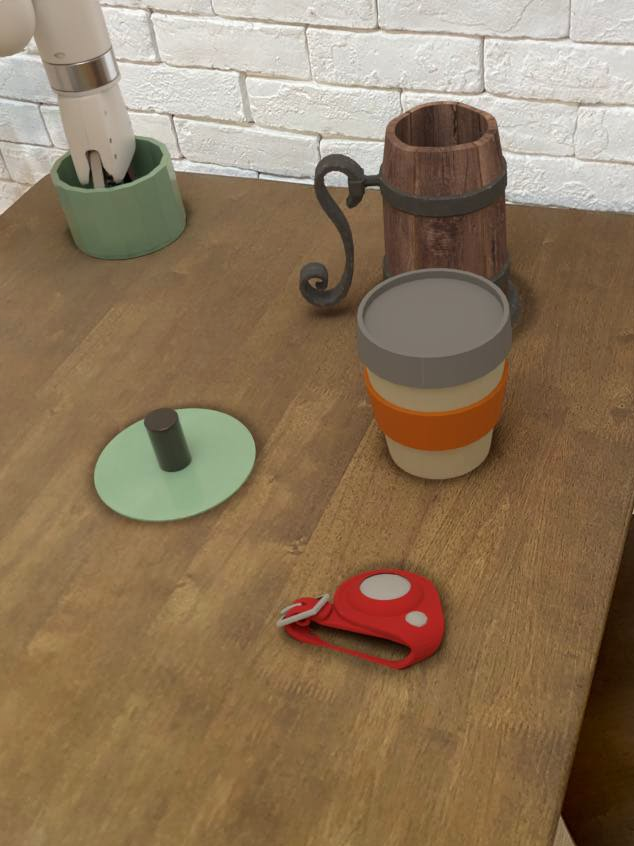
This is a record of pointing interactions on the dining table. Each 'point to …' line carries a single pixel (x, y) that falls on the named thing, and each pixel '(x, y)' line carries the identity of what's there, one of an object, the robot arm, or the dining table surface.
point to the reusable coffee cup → (435, 367)
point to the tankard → (427, 200)
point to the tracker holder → (375, 613)
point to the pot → (123, 206)
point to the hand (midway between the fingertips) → (130, 223)
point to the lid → (174, 464)
